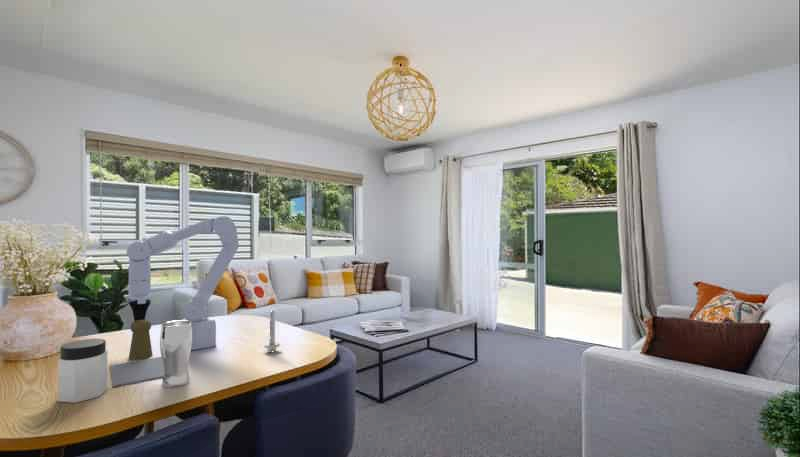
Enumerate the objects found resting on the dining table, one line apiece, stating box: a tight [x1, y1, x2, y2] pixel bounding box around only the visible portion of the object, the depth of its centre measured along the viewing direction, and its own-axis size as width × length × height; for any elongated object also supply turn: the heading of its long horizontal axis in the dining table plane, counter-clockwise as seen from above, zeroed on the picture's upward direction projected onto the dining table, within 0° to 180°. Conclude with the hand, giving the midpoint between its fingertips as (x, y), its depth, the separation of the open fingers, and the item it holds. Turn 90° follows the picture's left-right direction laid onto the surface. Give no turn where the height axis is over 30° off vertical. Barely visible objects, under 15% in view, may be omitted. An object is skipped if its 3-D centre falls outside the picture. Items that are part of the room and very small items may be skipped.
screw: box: [263, 310, 281, 353], centre depth 122 cm, size 13×5×5 cm
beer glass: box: [159, 319, 192, 389], centre depth 96 cm, size 7×7×15 cm
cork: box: [128, 319, 154, 361], centre depth 116 cm, size 6×6×11 cm
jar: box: [57, 338, 108, 404], centre depth 89 cm, size 9×8×12 cm
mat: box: [109, 356, 164, 388], centre depth 105 cm, size 15×18×1 cm
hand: (139, 323), depth 120 cm, fingers closed
